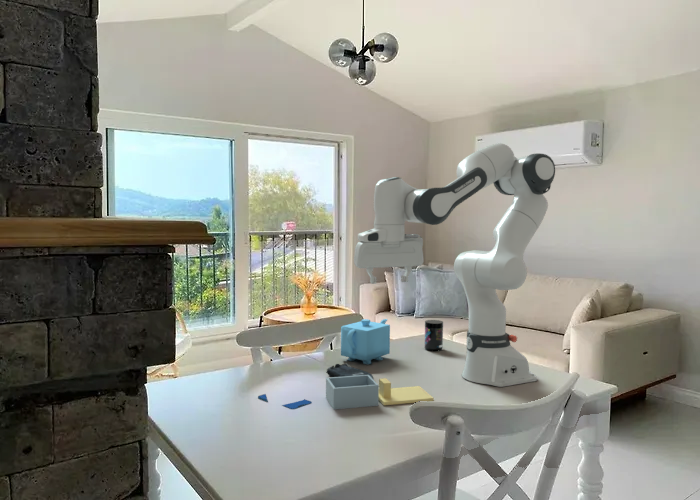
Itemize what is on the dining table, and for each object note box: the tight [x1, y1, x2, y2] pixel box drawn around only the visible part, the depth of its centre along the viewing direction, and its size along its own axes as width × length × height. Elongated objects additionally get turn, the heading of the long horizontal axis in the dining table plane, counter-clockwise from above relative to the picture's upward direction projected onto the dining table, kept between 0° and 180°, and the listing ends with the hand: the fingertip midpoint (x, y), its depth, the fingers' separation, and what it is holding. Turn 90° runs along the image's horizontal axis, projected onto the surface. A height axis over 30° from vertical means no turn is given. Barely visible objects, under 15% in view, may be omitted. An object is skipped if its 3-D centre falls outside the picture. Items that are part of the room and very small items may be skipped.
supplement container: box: [424, 319, 444, 352], centre depth 198 cm, size 7×7×10 cm
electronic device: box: [325, 363, 375, 380], centre depth 162 cm, size 9×6×15 cm
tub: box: [325, 375, 379, 411], centre depth 142 cm, size 12×9×6 cm
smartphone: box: [257, 393, 313, 410], centre depth 144 cm, size 7×1×15 cm
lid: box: [378, 377, 435, 406], centre depth 146 cm, size 14×10×6 cm
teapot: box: [340, 318, 391, 365], centre depth 186 cm, size 22×11×14 cm, turn 141°
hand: (389, 282), depth 154 cm, fingers open, 8 cm apart
